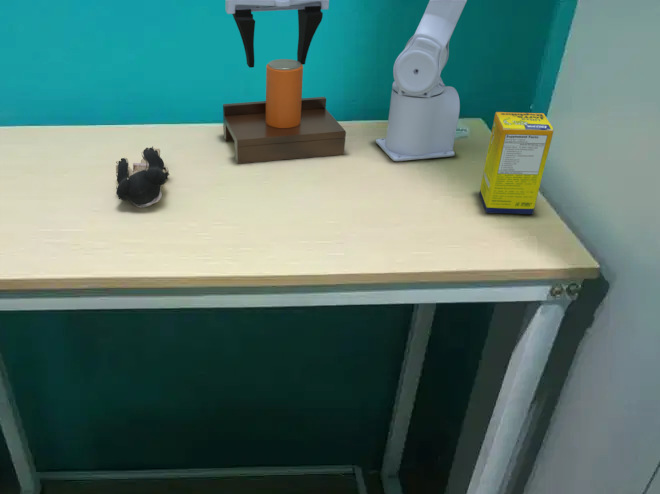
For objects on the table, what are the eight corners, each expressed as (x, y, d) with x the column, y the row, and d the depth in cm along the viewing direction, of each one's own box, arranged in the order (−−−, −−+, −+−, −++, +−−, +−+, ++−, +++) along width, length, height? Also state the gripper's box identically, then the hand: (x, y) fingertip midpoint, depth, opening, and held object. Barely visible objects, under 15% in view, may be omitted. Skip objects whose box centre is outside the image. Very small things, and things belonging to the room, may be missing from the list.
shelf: (322, 128, 116) (324, 96, 113) (344, 154, 108) (346, 120, 105) (223, 136, 114) (222, 103, 111) (237, 163, 105) (237, 129, 102)
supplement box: (523, 195, 97) (544, 111, 90) (533, 215, 92) (555, 129, 85) (477, 193, 97) (494, 110, 90) (484, 213, 92) (503, 127, 86)
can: (295, 115, 111) (297, 57, 106) (304, 126, 107) (307, 67, 102) (262, 117, 110) (262, 59, 105) (270, 129, 106) (271, 70, 101)
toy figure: (115, 170, 104) (115, 211, 92) (116, 125, 101) (115, 162, 89) (166, 173, 106) (172, 214, 93) (168, 129, 102) (174, 166, 90)
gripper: (230, -34, 96) (232, 74, 104) (338, -38, 98) (330, 69, 106) (222, -43, 101) (224, 61, 109) (323, -47, 103) (318, 55, 111)
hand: (275, 64), depth 108 cm, fingers open, 7 cm apart
